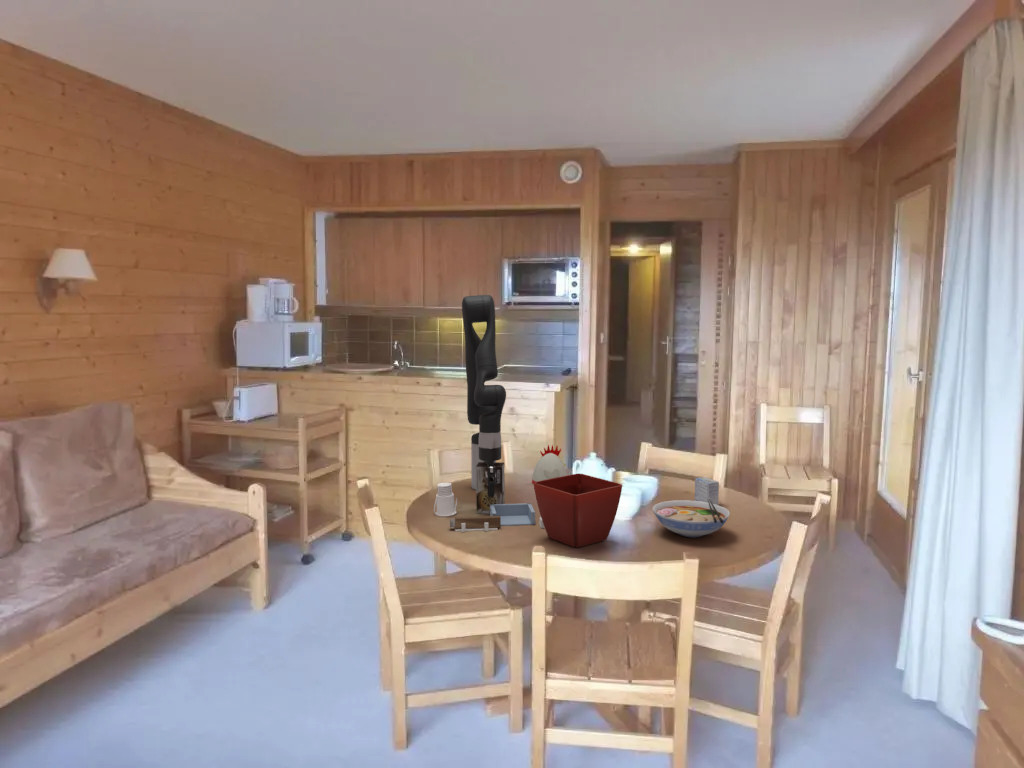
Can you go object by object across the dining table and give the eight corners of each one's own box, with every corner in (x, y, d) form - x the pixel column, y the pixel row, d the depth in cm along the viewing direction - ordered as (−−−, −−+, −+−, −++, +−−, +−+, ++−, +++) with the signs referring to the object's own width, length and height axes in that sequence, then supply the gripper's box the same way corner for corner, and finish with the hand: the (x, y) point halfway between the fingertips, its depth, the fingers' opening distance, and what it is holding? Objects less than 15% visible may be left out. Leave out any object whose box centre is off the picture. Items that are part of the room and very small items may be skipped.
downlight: (453, 509, 247) (452, 480, 246) (461, 514, 241) (459, 485, 240) (431, 513, 244) (429, 483, 242) (438, 518, 238) (436, 488, 236)
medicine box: (718, 506, 251) (719, 481, 250) (707, 507, 250) (708, 482, 249) (704, 500, 259) (705, 476, 258) (694, 502, 257) (694, 477, 256)
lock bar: (449, 526, 227) (449, 517, 226) (499, 524, 228) (499, 515, 228) (450, 529, 224) (450, 519, 224) (500, 527, 226) (500, 518, 225)
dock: (489, 516, 239) (489, 504, 239) (530, 515, 241) (530, 503, 240) (492, 526, 229) (492, 513, 228) (535, 524, 230) (535, 512, 230)
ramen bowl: (651, 519, 236) (651, 494, 235) (724, 523, 232) (725, 498, 231) (652, 545, 211) (653, 517, 210) (734, 549, 208) (735, 521, 207)
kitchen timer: (569, 487, 277) (570, 448, 275) (533, 487, 276) (533, 448, 275) (566, 478, 290) (566, 441, 289) (531, 478, 290) (531, 441, 288)
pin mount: (454, 526, 228) (454, 518, 228) (542, 523, 232) (542, 515, 231) (455, 532, 223) (455, 524, 222) (545, 529, 226) (545, 521, 225)
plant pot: (531, 536, 219) (531, 481, 217) (578, 525, 230) (579, 472, 228) (574, 554, 204) (575, 495, 202) (623, 541, 215) (624, 484, 213)
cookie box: (505, 509, 248) (505, 462, 246) (503, 514, 241) (503, 466, 239) (478, 508, 249) (478, 461, 247) (475, 513, 242) (475, 465, 240)
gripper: (477, 441, 249) (477, 488, 251) (479, 449, 235) (480, 499, 236) (499, 441, 250) (499, 487, 251) (503, 449, 236) (503, 498, 237)
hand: (489, 493), depth 244 cm, fingers open, 8 cm apart
